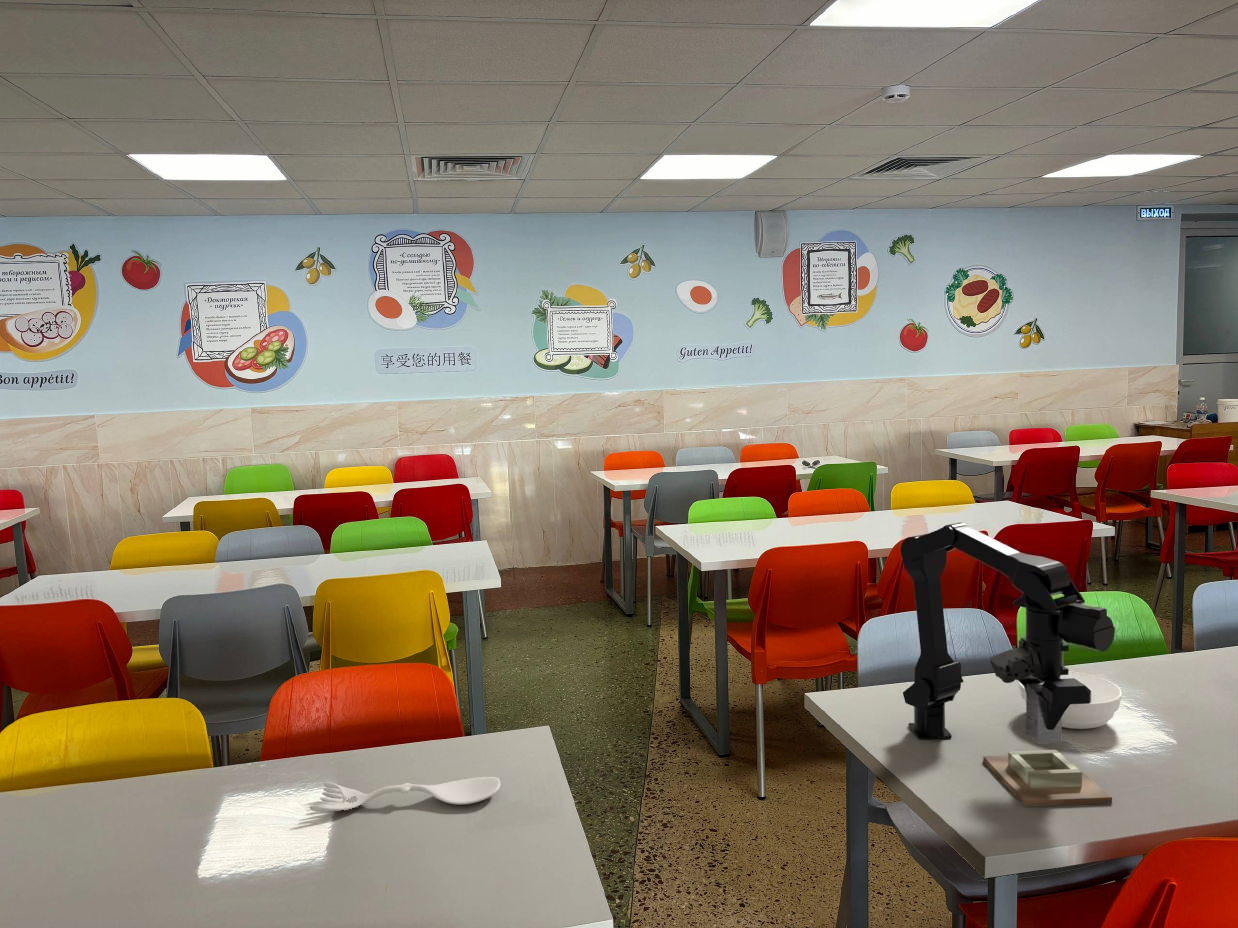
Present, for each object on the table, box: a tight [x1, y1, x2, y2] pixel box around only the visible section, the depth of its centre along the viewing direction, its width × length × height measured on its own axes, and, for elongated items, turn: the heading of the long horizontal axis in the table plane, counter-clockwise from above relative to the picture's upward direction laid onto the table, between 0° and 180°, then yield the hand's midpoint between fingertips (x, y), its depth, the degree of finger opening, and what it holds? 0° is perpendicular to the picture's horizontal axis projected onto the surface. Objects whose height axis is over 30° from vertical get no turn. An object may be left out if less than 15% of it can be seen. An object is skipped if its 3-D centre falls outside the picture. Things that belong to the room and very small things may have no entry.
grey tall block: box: [1025, 683, 1063, 745], centre depth 140 cm, size 4×4×9 cm
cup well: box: [982, 749, 1113, 808], centre depth 141 cm, size 16×14×4 cm
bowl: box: [1017, 670, 1123, 730], centre depth 165 cm, size 18×18×7 cm
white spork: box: [309, 776, 501, 812], centre depth 145 cm, size 9×32×4 cm, turn 94°
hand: (1043, 723), depth 141 cm, fingers closed on grey tall block, 4 cm apart
